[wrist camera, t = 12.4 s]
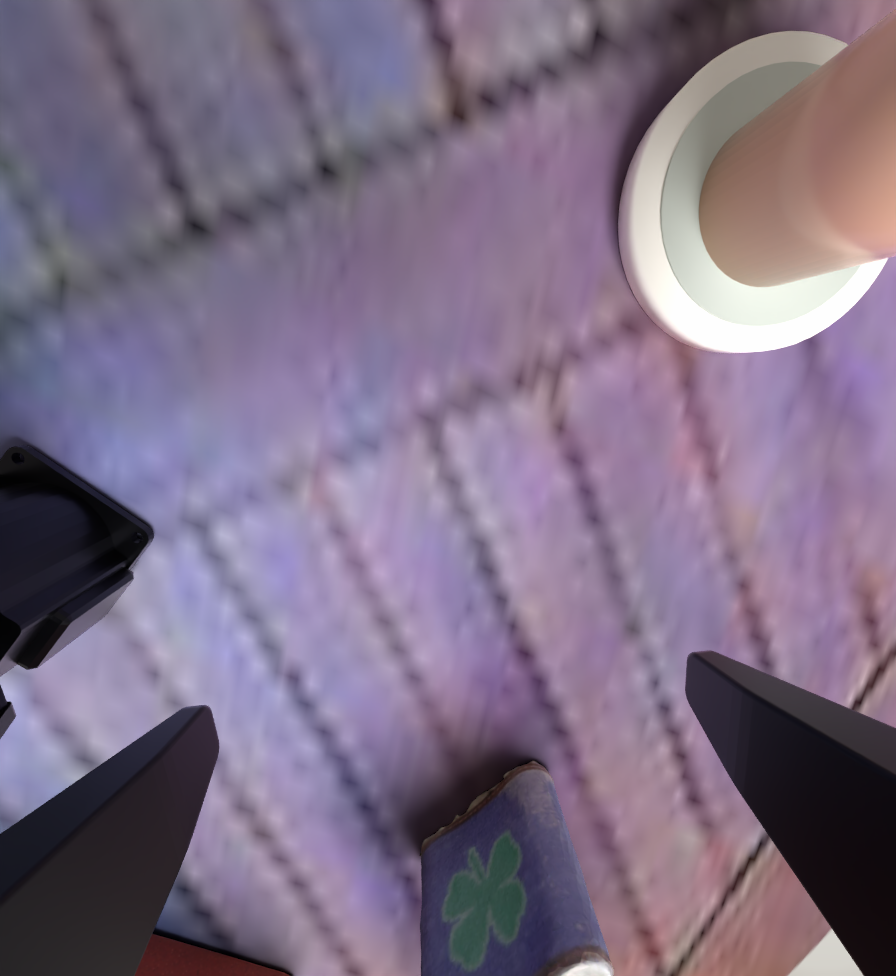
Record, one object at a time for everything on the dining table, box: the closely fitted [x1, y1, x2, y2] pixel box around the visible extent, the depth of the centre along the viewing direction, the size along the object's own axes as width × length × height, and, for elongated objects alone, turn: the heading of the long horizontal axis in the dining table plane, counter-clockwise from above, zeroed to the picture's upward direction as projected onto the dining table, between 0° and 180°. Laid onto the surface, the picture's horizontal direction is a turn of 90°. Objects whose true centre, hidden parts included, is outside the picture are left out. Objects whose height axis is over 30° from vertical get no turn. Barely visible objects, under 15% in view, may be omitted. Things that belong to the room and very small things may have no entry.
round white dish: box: [618, 31, 888, 353], centre depth 18 cm, size 11×11×2 cm
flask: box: [420, 761, 614, 976], centre depth 20 cm, size 9×3×11 cm, turn 133°
